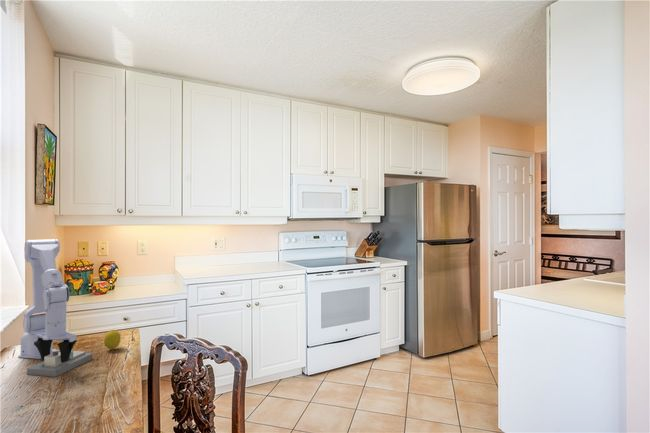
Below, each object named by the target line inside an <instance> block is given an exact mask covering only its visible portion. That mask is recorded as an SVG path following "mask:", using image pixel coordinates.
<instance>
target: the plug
mask: <svg viewBox="0 0 650 433" xmlns="http://www.w3.org/2000/svg"><path fill="white" fill-rule="evenodd" d="M64 363H65V362H64ZM61 364H63V363H61V354H60V352H58V351H55V352H53V353H52V354H50V355H48V356H45V357H44V366H46V367H56V366H59V365H61Z"/></svg>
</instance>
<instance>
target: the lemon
mask: <svg viewBox="0 0 650 433" xmlns="http://www.w3.org/2000/svg"><path fill="white" fill-rule="evenodd" d="M103 343H104V347H106V349H110V350H111V351H112V350H113V351H114V349H115V348H117V347H118V346H119V345H120V343H121V334H120V333H119V331H117V330H115V329H111V330H109V331H107V333H106V334H105V335H104V339H103Z"/></svg>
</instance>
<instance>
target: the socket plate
mask: <svg viewBox="0 0 650 433" xmlns="http://www.w3.org/2000/svg"><path fill="white" fill-rule="evenodd" d="M93 359H94V354H93V353H92V352H91V353H90V352H86V353H85V354H83V355H81V356H78V357H76V358H74V359H72V360H69V359H68V361H66V362H65V363H63V364H61V365H59V366H56V367H46V366H44V361H41V362H38V363H36V364H35V365H34V364H33V365H32V366H29V367H27V368H26V375H31V376H43V377H51V378H56V377H59V376H60V375H62V374H64V373H66V372H68V371H71V370H72V369H74V368H77V367H78V366H80V365H83V364H85V363H87V362H89V361H91V360H93Z"/></svg>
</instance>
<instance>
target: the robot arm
mask: <svg viewBox="0 0 650 433" xmlns="http://www.w3.org/2000/svg"><path fill="white" fill-rule="evenodd" d="M60 245H61V244H60V241H59V239H57V238H53V239H27V240H26V241H25V242H24V249H23V250H24V259H25V260H24V261H25V263H29V264H30V266H31V269H32V270H31V271H32V273H31V274H32V275H31V276H32V277H31V278H32V301H33V302H32V306H31V307H30V308H29V309H27V310H25V312H24V314H23V321H22V328H23V331H24V333H23V334H22V336H21V338H20V355H18V356H17V357H18V358H23V359H24V358H25V359H26V358H27V359H36V360H40V359H41V362H43V361H44V357H45V356H48V355H50V354H53V352H55V351H60V354H61V363H64V362H66V361H68V359H69V356H70V353H71V351H73V348H74V347H75V345H76V343H77V341H78V340H77V334H74V333H71V332H68V331H67V304H68V302H69V301H70V289H69V286H68V285H67V284H66V283H65V281H64V278H63V275H62V272H61V271H60V270H59V269H57V263H56V258H57V256H58V255H59V253H60V252H61V251H60V248H61V246H60ZM53 341H62V342H58V343H57V347H58V348H59V349H55V348H53Z"/></svg>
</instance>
